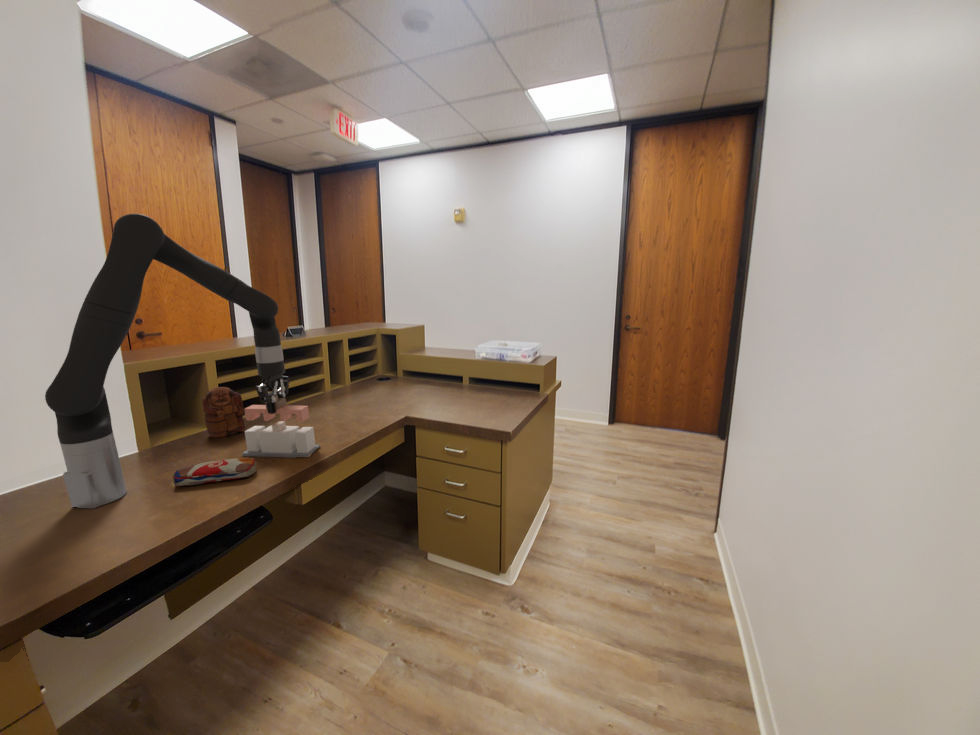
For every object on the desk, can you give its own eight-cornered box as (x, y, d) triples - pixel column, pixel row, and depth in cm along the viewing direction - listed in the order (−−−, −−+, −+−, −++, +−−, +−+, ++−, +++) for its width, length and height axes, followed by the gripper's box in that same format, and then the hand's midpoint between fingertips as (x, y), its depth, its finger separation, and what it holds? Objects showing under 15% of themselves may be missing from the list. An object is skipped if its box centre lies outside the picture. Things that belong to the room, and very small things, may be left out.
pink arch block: (302, 421, 120) (299, 402, 118) (245, 420, 121) (242, 401, 119) (309, 417, 124) (307, 398, 123) (254, 415, 125) (252, 397, 124)
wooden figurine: (210, 440, 134) (201, 392, 130) (207, 435, 139) (199, 388, 135) (248, 431, 142) (241, 386, 138) (244, 427, 147) (237, 382, 143)
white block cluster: (307, 457, 120) (304, 428, 118) (242, 456, 122) (238, 427, 120) (320, 447, 128) (317, 419, 126) (258, 445, 129) (254, 418, 127)
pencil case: (240, 488, 103) (237, 472, 102) (166, 490, 102) (163, 473, 101) (262, 469, 113) (260, 454, 112) (196, 470, 113) (193, 455, 112)
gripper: (267, 364, 111) (274, 418, 115) (294, 355, 125) (300, 404, 129) (242, 364, 111) (251, 418, 115) (272, 355, 125) (279, 403, 129)
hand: (277, 410), depth 122 cm, fingers closed on pink arch block, 4 cm apart
